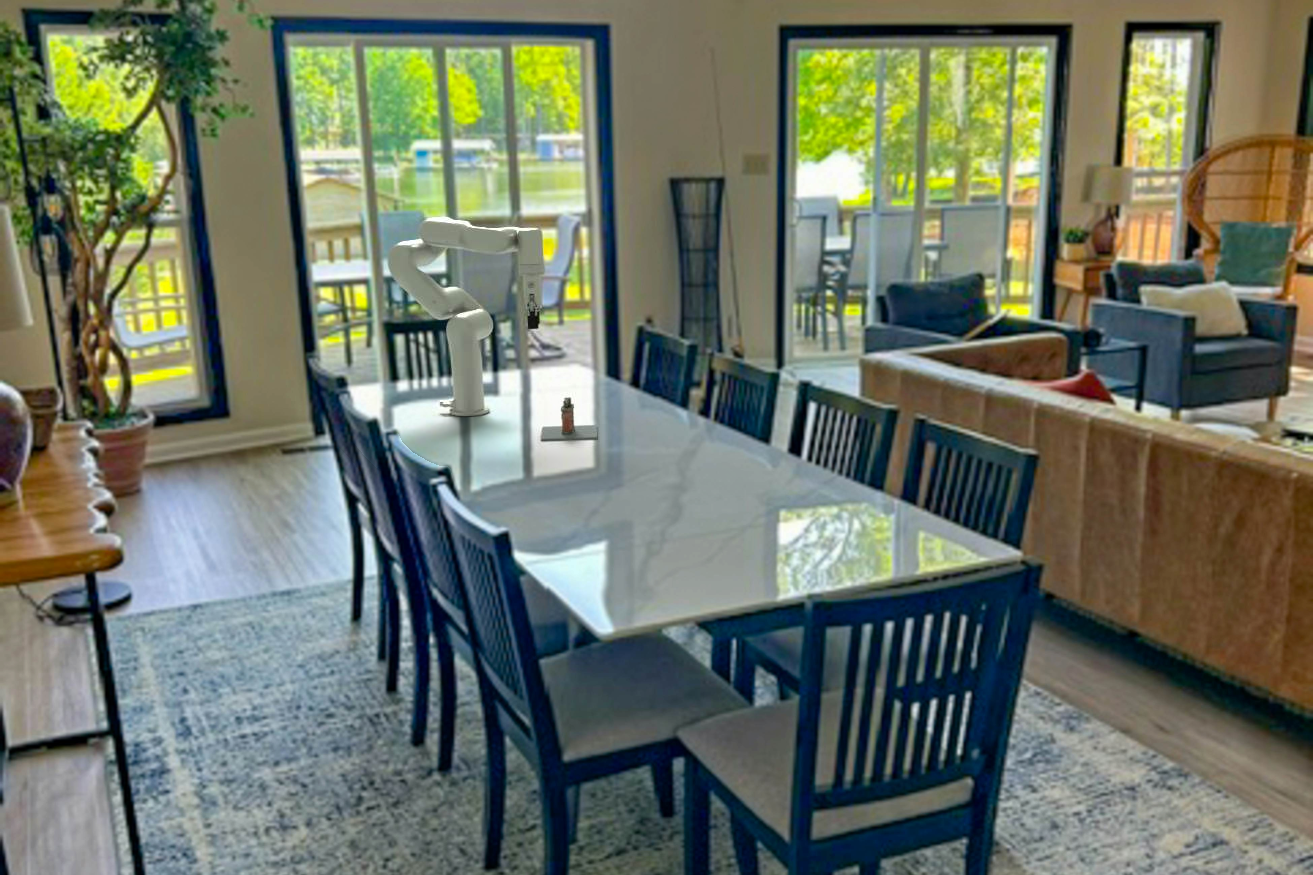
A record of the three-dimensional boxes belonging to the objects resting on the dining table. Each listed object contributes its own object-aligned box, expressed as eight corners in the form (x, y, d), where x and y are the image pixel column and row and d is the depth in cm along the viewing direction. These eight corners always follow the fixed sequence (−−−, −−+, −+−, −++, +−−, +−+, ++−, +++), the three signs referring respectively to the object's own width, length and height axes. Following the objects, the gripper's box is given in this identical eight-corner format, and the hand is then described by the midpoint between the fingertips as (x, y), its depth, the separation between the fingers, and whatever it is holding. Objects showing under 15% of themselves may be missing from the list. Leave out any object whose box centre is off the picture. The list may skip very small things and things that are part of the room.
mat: (540, 441, 321) (540, 439, 321) (542, 428, 335) (542, 426, 335) (597, 439, 322) (597, 437, 322) (596, 426, 336) (596, 425, 336)
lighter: (565, 428, 333) (564, 395, 330) (576, 428, 332) (575, 395, 330) (559, 434, 325) (558, 400, 323) (571, 435, 325) (570, 401, 322)
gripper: (542, 272, 331) (545, 330, 335) (544, 266, 348) (547, 322, 352) (517, 273, 331) (519, 331, 335) (520, 267, 348) (523, 322, 352)
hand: (533, 326), depth 344 cm, fingers open, 9 cm apart
